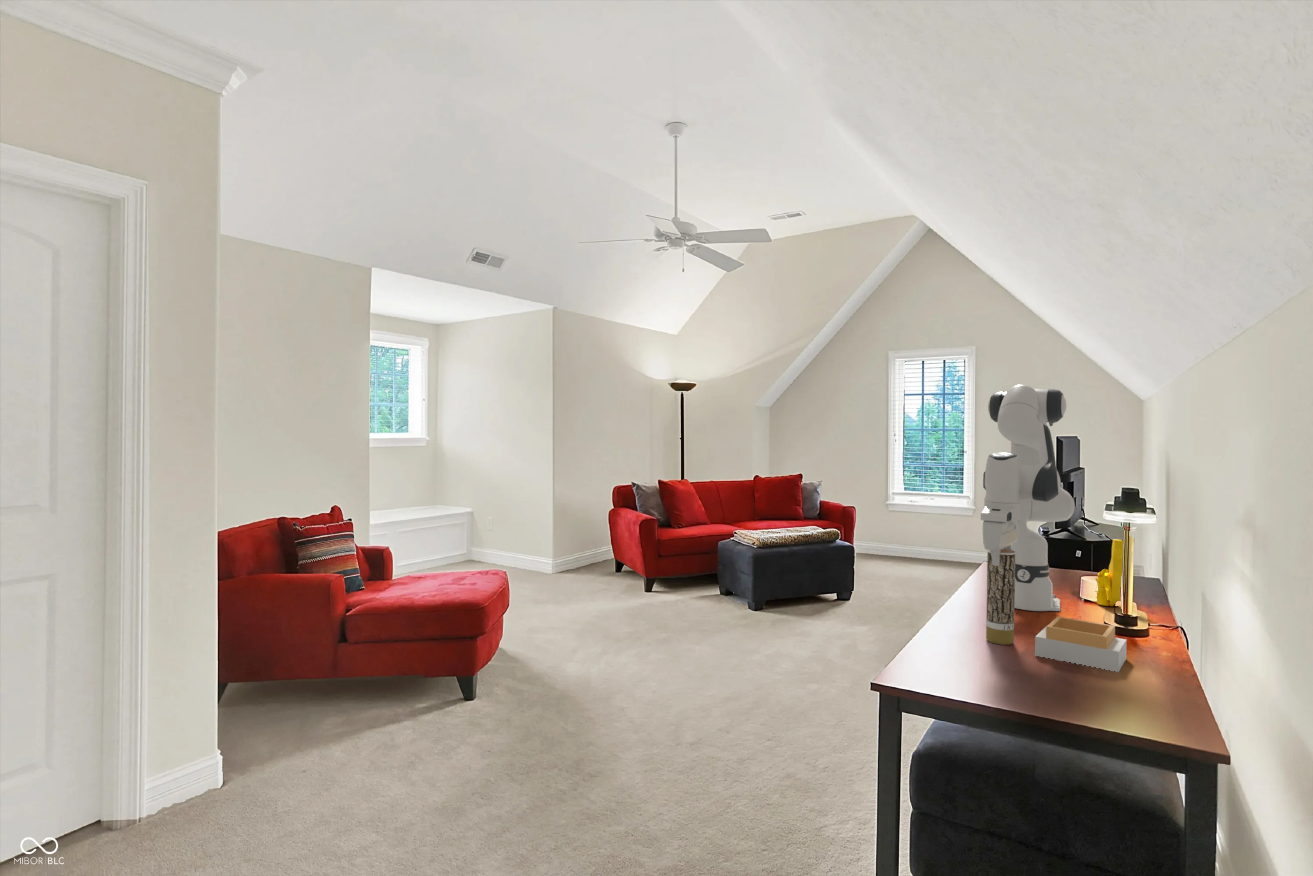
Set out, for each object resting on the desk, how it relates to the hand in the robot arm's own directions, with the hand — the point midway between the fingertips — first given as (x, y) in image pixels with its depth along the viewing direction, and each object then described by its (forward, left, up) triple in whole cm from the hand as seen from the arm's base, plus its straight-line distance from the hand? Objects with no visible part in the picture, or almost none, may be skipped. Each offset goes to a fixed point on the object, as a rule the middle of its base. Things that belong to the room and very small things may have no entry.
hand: (1001, 562), depth 189 cm
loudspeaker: (0, +19, -22) cm, 29 cm away
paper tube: (0, 0, -22) cm, 22 cm away
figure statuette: (-68, +16, -22) cm, 73 cm away
